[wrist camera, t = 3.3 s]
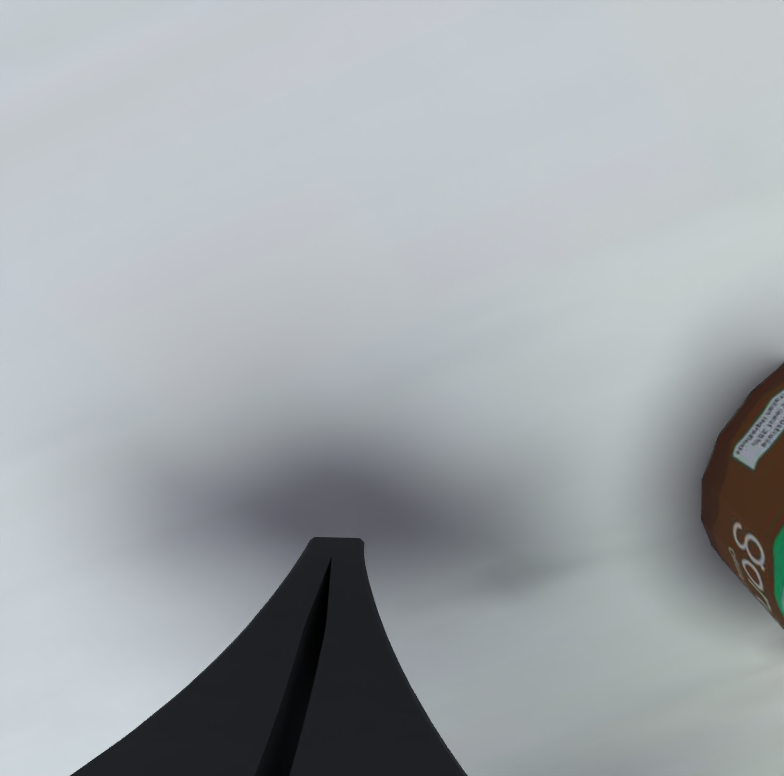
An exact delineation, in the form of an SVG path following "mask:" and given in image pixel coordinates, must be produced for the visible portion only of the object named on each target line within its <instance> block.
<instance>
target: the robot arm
mask: <svg viewBox="0 0 784 776" xmlns="http://www.w3.org/2000/svg"><path fill="white" fill-rule="evenodd" d="M70 776H467V774H466V773H465V772H464V770H463V769H462V767H461V766H460V765H459V763H458V762H457V760H456V759H455V757H454V756H453V754H452V753H451V751H450V750H449V749H448V747H447V746H446V744H445V742H444V741H443V739H442V738H441V736H440V735H439V733H438V732H437V730H436V728H435V727H434V725H433V724H432V722H431V721H430V719H429V717H428V715H427V714H426V712H425V710H424V708H423V707H422V705H421V703H420V701H419V700H418V698H417V696H416V694H415V693H414V691H413V689H412V687H411V686H410V684H409V682H408V680H407V678H406V676H405V674H404V672H403V670H402V668H401V666H400V664H399V662H398V660H397V657H396V655H395V653H394V651H393V649H392V646H391V644H390V642H389V639H388V637H387V634H386V632H385V629H384V627H383V624H382V621H381V619H380V616H379V613H378V610H377V607H376V604H375V601H374V598H373V594H372V591H371V587H370V584H369V580H368V576H367V571H366V566H365V559H364V542H363V541H362V540H361V539H360V538H329V537H314V538H313V539H311V540H310V542H309V543H308V545H307V547H306V548H305V550H304V552H303V553H302V555H301V556H300V558H299V559H298V561H297V563H296V564H295V565H294V567H293V568H292V570H291V571H290V573H289V574H288V576H287V577H286V578H285V580H284V581H283V582H282V584H281V585H280V586H279V588H278V589H277V590H276V592H275V593H274V594H273V596H272V597H271V598H270V599H269V601H268V602H267V603H266V604H265V606H264V607H263V608H262V609H261V610H260V612H259V613H258V614H257V615H256V616H255V618H254V619H253V620H252V621H251V622H250V623H249V625H248V626H247V627H246V628H245V629H244V630H243V631H242V632H241V634H240V635H239V636H238V637H237V638H236V639H235V640H234V641H233V642H232V643H231V644H230V645H229V646H228V647H227V648H226V649H225V650H224V651H223V652H222V653H221V654H220V655H219V656H218V657H217V658H216V659H215V660H214V661H213V662H212V663H211V664H210V665H209V666H208V667H207V668H206V669H205V670H204V671H203V672H202V673H201V674H200V675H198V676H197V677H196V678H195V679H194V680H193V681H192V682H191V683H190V684H189V685H188V686H186V687H185V688H184V689H183V690H182V691H181V692H180V693H178V694H177V695H176V696H175V697H174V698H173V699H171V700H170V701H169V702H168V703H166V704H165V705H164V706H163V707H162V708H160V709H159V710H158V711H157V712H155V713H154V714H153V715H152V716H150V717H149V718H148V719H147V720H146V721H144V722H143V723H142V724H141V725H139V726H138V727H137V728H136V729H134V730H133V731H132V732H130V733H129V734H128V735H127V736H125V737H124V738H123V739H121V740H120V741H118V742H117V743H116V744H114V745H113V746H111V747H110V748H109V749H107V750H106V751H104V752H103V753H101V754H100V755H99V756H97V757H96V758H94V759H93V760H92V761H90V762H89V763H87V764H86V765H85V766H83V767H82V768H80V769H79V770H77V771H76V772H75V773H73V774H72V775H70Z"/></svg>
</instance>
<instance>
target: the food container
mask: <svg viewBox="0 0 784 776" xmlns="http://www.w3.org/2000/svg"><path fill="white" fill-rule="evenodd" d="M701 520H702V523H703V525H704V528H705V530H706V533H707V535H708V538H709V540H710V543H711V545H712V546H713V548H714V549H715V550H716V552H717V553H718V554H719V556H720V557H721V558H722V559H723V561H724V562H725V563H726V564H727V565H728V566H729V567H730V569H731V570H732V571H733V572H734V573H735V574H736V575H737V577H738V578H739V579H740V580H741V581H742V582H743V583H744V585H745V586H746V587H747V588H748V589H749V590H750V591H751V593H752V594H753V595H754V596H755V597H756V598H757V599H758V601H759V602H760V603H761V604H762V605H763V606H764V607H765V609H766V610H767V611H768V612H769V613H770V614H771V615H772V617H773V618H774V619H775V620H776V621H777V622H778V623H779V625H780V626H781V627H782V628H783V629H784V364H783V365H782V366H780V367H779V368H778V369H777V370H776V371H775V372H773V373H772V374H771V375H770V376H769V377H768V378H767V379H765V380H764V381H763V382H762V383H761V384H760V385H758V386H757V387H756V388H755V389H754V390H753V391H752V392H751V393H750V394H749V396H748V397H747V398H746V400H745V401H744V402H743V404H742V405H741V406H740V408H739V409H738V410H737V412H736V413H735V414H734V416H733V417H732V418H731V420H730V421H729V422H728V424H727V425H726V426H725V428H724V429H723V430H722V432H721V433H720V434H719V436H718V439H717V441H716V444H715V446H714V449H713V452H712V454H711V457H710V460H709V462H708V465H707V467H706V470H705V473H704V475H703V478H702V498H701Z"/></svg>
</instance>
